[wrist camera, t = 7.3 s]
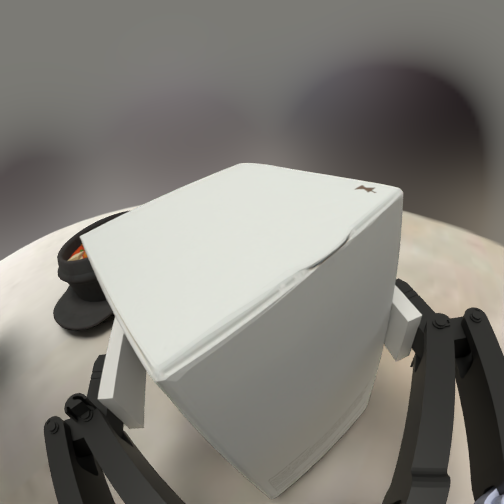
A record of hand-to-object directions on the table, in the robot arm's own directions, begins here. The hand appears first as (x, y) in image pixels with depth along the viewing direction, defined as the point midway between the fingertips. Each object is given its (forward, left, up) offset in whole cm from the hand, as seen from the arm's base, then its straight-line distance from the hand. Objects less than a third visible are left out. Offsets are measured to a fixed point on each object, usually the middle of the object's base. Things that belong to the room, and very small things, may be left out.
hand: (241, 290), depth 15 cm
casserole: (-29, +4, -11) cm, 31 cm away
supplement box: (+3, -3, -9) cm, 10 cm away
